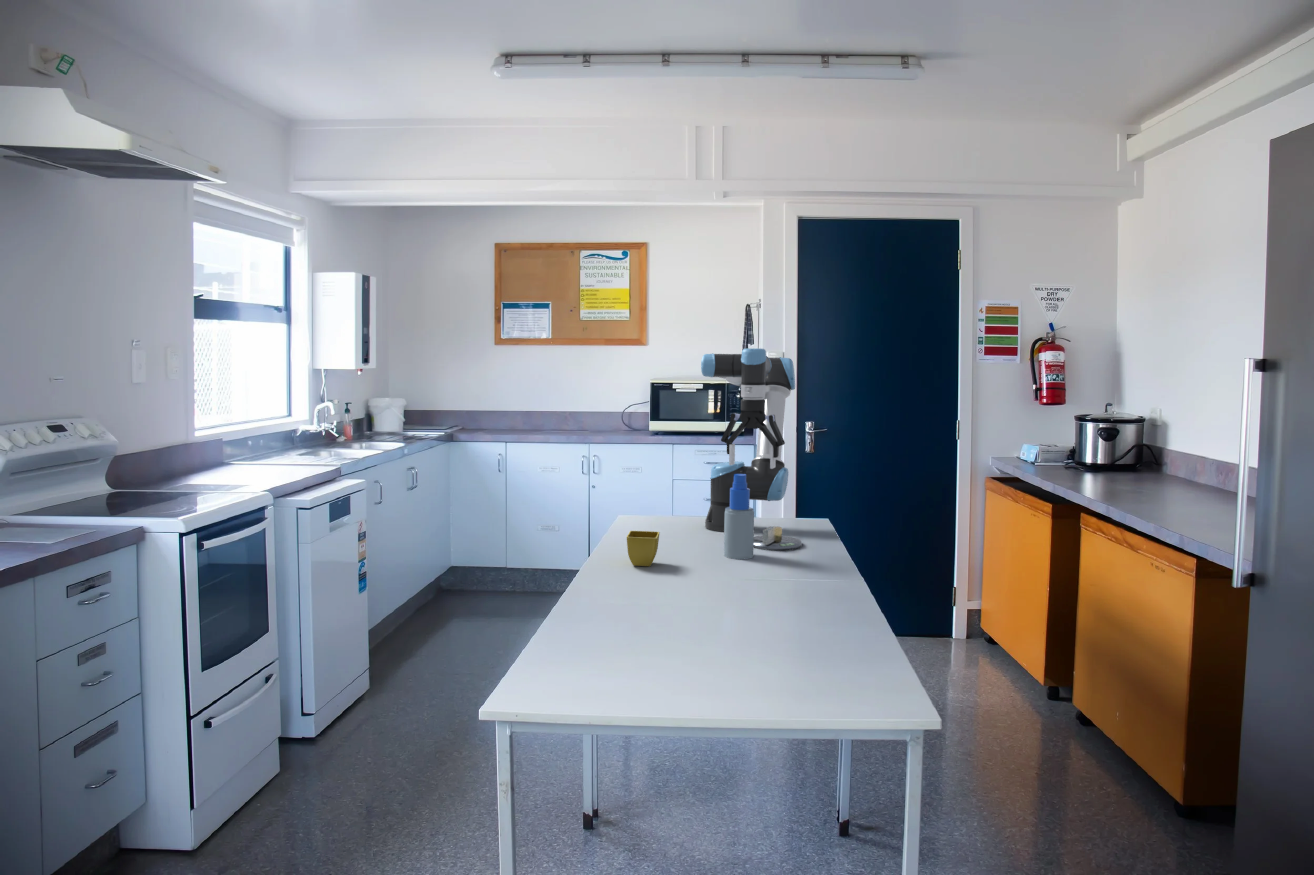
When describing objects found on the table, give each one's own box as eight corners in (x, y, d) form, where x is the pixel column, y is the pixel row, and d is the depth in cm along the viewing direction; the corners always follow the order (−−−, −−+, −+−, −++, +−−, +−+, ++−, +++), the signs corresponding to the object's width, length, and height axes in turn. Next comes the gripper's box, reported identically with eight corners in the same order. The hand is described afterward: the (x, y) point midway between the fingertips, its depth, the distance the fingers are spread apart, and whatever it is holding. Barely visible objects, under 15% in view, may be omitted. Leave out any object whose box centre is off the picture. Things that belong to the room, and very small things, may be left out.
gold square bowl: (659, 561, 238) (659, 531, 238) (656, 568, 230) (656, 537, 229) (630, 560, 239) (630, 530, 238) (626, 567, 231) (626, 536, 230)
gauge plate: (754, 537, 272) (754, 532, 271) (805, 541, 266) (805, 536, 266) (743, 548, 256) (743, 543, 255) (796, 552, 250) (796, 548, 250)
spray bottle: (751, 552, 250) (753, 472, 248) (754, 559, 241) (756, 476, 239) (723, 552, 250) (724, 472, 248) (724, 559, 241) (726, 476, 239)
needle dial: (770, 537, 264) (771, 523, 263) (783, 539, 262) (784, 525, 261) (758, 544, 254) (759, 529, 254) (771, 546, 252) (772, 531, 252)
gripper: (711, 397, 252) (710, 464, 255) (787, 400, 241) (786, 471, 243) (720, 396, 259) (720, 461, 261) (795, 399, 247) (794, 467, 250)
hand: (752, 466), depth 252 cm, fingers open, 13 cm apart
